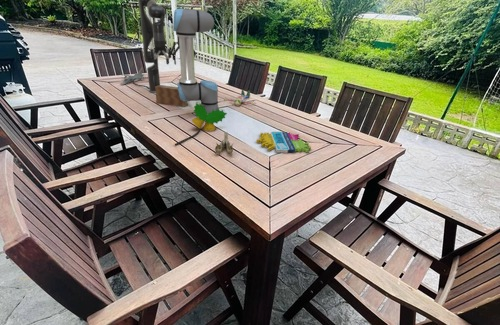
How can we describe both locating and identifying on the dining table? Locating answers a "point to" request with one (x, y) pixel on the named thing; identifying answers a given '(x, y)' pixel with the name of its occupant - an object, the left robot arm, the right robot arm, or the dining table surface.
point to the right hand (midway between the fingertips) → (183, 64)
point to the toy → (241, 99)
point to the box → (169, 96)
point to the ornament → (207, 117)
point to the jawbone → (224, 145)
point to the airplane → (134, 77)
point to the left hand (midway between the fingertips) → (161, 64)
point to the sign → (283, 142)
